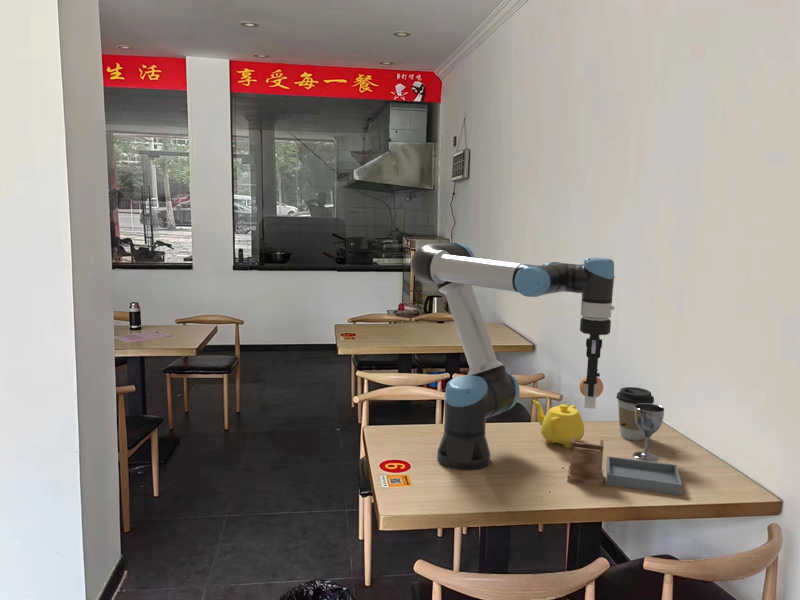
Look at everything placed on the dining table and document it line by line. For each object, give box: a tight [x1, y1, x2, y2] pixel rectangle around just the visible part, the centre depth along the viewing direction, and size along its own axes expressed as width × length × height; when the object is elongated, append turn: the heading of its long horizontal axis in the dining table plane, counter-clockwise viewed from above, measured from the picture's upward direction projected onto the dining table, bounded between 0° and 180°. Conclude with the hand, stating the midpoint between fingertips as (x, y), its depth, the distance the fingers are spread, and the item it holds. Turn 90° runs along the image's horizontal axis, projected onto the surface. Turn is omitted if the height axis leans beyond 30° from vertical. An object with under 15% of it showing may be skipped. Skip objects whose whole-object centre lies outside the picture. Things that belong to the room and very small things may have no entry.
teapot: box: [532, 399, 585, 449], centre depth 193 cm, size 14×14×12 cm
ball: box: [578, 375, 604, 398], centre depth 163 cm, size 6×6×6 cm
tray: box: [605, 455, 683, 496], centre depth 167 cm, size 18×13×3 cm
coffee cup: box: [615, 386, 655, 441], centre depth 198 cm, size 11×11×15 cm
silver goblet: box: [632, 403, 665, 462], centre depth 182 cm, size 8×8×15 cm
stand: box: [566, 437, 604, 487], centre depth 166 cm, size 9×7×10 cm
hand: (590, 403), depth 164 cm, fingers closed on ball, 6 cm apart
